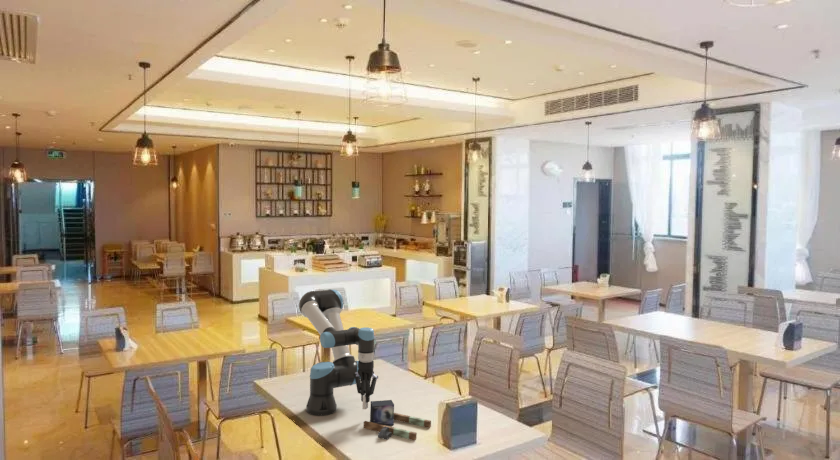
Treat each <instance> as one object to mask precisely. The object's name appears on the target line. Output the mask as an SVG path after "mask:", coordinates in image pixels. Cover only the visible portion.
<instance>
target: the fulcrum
mask: <svg viewBox="0 0 840 460" xmlns="http://www.w3.org/2000/svg"><path fill="white" fill-rule="evenodd" d="M392 437H393V435H392V432H389V427H386V426H385V427H384V428H382V429H381V431H380V432H377V438H379V439H383V440H389V439H390V438H392Z"/></svg>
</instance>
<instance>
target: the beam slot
mask: <svg viewBox="0 0 840 460" xmlns="http://www.w3.org/2000/svg"><path fill="white" fill-rule="evenodd" d="M394 421H396V422H401V423H406V424H411V425H416V426H419V427H424V428H428V429H430V428H431V427H432V420H430V419H425V418H421V417H415V416H412V415H411V416H410V415H406V414H403V413H402V414H401V413H397V412H394ZM362 424H363V429H365V430H370V431H373V432H377V433H379V432H380V431H381V429H382V428H384V427H385V425H381V424H377V423H373V422H370V421H368V420H364V421H363V423H362ZM386 427H389V432H392V436H395V437H398V438H399V437H400V438H402V439H403V438H404V439H407V440H410V441H411V440H412V441H416V440H417V432H415V431H411V430H406V429H402V428H397V427H393V426H386Z"/></svg>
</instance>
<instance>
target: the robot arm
mask: <svg viewBox="0 0 840 460" xmlns="http://www.w3.org/2000/svg"><path fill="white" fill-rule="evenodd" d="M343 307H344V300H343V295H342V294H341V292H340V291H338V290H337V289H326V290H325V289H324V290H311V291H310V290H309V291H307V292H306V293H305V294H303V295H302V297H300V300H299V301H298V308H299V309H298V310H299V313H301V314H302V316H303V317H304V318H307V319H308V321H309V323H311V325H312V326H313V327H314V329H315V330H316V332H318V334H319V335H320V336H319V342H320V345H321V347H322V348H324V349H330V348H331V351H332V355H333V358H334V359H333V361H321V362H320V361H319V362H317V363H315V364H313V365H312V366H311V367H310V372H309V397H308V400H307V403H306V407H305V408H306V409H305V410H306V413H307V414H310V415H312V416H328V415H331V414H333V413H335V412H336V411H337V410H338V409H337V407H338V406H337V402H336V399H335V396H334V389H336V388H337V389H338V388H342V387H347V386H353V385H355V386H356V389H357V394H360V396H361V398H360V400H361V402H362V410H367V409H369V402H371V400H370V396H372V395H373V394H374V392H375V388H376V384H377V380H378V379H379V375H376V374H375V371H374V368H375V367H374V365H375V364H374V363H375V362H374V360H375V359H374V358H375V331H374V328H372V327H361V328H359V327H356V326H351V327H349V328H348V329H344V326H343V321H342V319H341V313H342V310H343ZM351 345H356V346H357V349H358V351H357V358H358V359H357V360H356V359H355V356H354V355H352V354H351V351H350V347H349V346H351Z"/></svg>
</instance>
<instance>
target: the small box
mask: <svg viewBox="0 0 840 460" xmlns="http://www.w3.org/2000/svg"><path fill="white" fill-rule="evenodd" d="M369 409H370V414H369V415H370V416H369V422H373V423H377V424H381V425H385V426H390V427H393V426H395V425H394V422H395V420H394V413H395V403H394V402H393V400H392V399H388V400H387V399H385V400H370V408H369Z"/></svg>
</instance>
